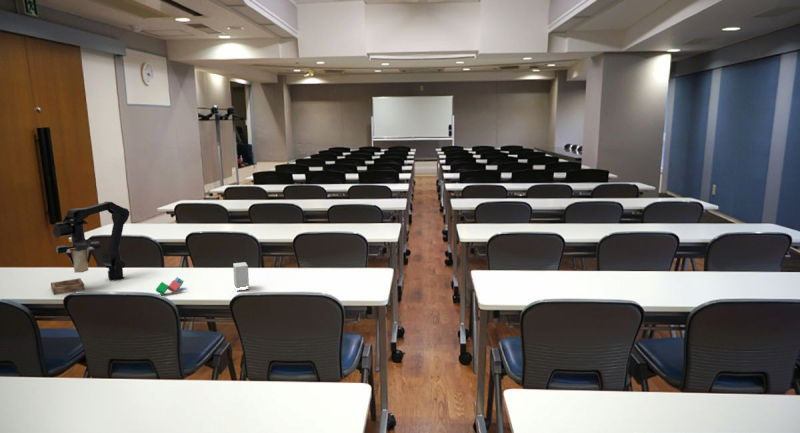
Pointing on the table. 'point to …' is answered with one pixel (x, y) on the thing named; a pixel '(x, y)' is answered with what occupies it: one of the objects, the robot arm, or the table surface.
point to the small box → (240, 275)
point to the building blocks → (170, 286)
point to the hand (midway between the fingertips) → (80, 263)
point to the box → (80, 261)
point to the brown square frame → (67, 286)
